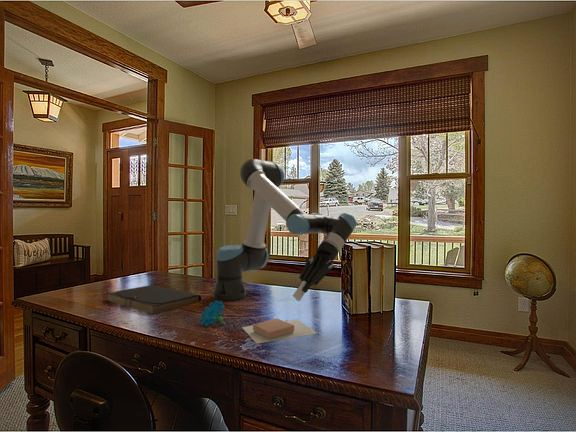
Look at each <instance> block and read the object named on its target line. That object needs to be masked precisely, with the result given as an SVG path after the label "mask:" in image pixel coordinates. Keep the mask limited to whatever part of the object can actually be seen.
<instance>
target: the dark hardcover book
mask: <svg viewBox="0 0 576 432" xmlns="http://www.w3.org/2000/svg"><path fill="white" fill-rule="evenodd" d="M106 294H107V297H106V298H107V300H106V301H108V302H111V303H114V304H118V305H121V306H124V307H129V308H130V309H135V310H139V311H142V312H146V313H148V314H152V315H155V314H159V313H162V312H167V311H170V310H173V309H176V308H180V307H183V306H187V305H191V304H193V303H194V304H195V303H197V302H200V301H202V296H201V295H199V294H196V293H190V292H187V291H182V290H177V289H174V288H169V287H163V286H159V285H154V284H149V285H145V286H139V287H134V288H133V287H132V288H127V289H120V290H116V291H113V292H107V293H106Z"/></svg>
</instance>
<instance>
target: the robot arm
mask: <svg viewBox="0 0 576 432" xmlns="http://www.w3.org/2000/svg"><path fill="white" fill-rule="evenodd" d="M239 177H240V179H241V181H242V183H244V185H245V186H246V188H248V189H249V190H253V191H254V195H253V200H252V201H253V202H252V206H251V212H250V218H249V223H248V228H247V234H246V238H245V240H243V241H242V244H241V245H240V244H232V245H231V244H229V245H225V246H221V247H219V248H218V250H217V253H216V282H215V285H214V288H213V290H212V298H213V299H215V300H217V301H238V300H242V299H245V298H246V296H247V292H246V291H247V290H246V288H245V284H244V281H243V272H244V273H245V272H249V271H250V272H251V271H258V270H259V269H263V268H264V267H265V266H267V265H268V264H267V263H268V262H269V253H268V252H269V250H268V249H267V248H266V247H267V244H266V243H265V237H266V231H267V226H268V223H269V217H270V211H271V209H273V210H274V211H275V212H276V213H277V214H278V215H279V216H280V217H281V218H282V219H283V220H284V221H285V222H286V227H287V230H288V232H289V233H291V234H292V235H299V236H300V235H301V236H302V235H311V234H324V235H325V237H324V238H323V239H322V241H321V243H320V244H319V246H318V247H317V249H316V253H315V254H314V255H313V256H312V257H311V258H310V257H306V258H305V261H306V262H305V264H304V266H303V267H302V270H301V273H300V275H299V280H300V283H299V285H297V289H296V290H295V292H294V293H293V295H292V297H293V298H294V299H295V300H296V301H298V302H300V301H301V300H302V298H303V297H304V295H305V294H306V293H307V292H308V291H309V290H310V288H311V287H313V286H317V285H318V284H319V283H320V282H321V281H322V280H323V279H324V278H325V277H326V275H328V273H329V272H330V271H331V270H334V268H335V264H334V263H333V262H334V261H335V259H336V258H337V256H338V255H339V253H340V251H341V250H342V248H343V247H344V245H345V244H346V242H347V240H348V239H349V238H350V237H351V234H352V233H353V232H354V230H355V228H356V226H357V220H356V218H355V217H354V216H353V215H352V214H351V213H349V212H343V213H341V214H340V215H339V216H338V217H336V216H330V215H326V214H323V213H321V212H320V213H318V212H311V213H310V214H307V213H306V212H304V211H303V210H302V209H301V208H300V207H299V206H298V205H297V204H296V203H295V202H294V201H293V200H292V199H290V198H289V196H287V195H286V194H285V193H284V192H283V191H282V190H281V189H279V188H278V187H280V186H282V184H283V183H284V181H285V172H284V169H283V167H282V166H281V165H280V164H279V163H277V162H274V161H271V160H262V159H258V158H250V159H247V160H246V161H245V162H243V164H242V165H241V167H240V171H239Z"/></svg>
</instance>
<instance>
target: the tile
mask: <svg viewBox="0 0 576 432" xmlns="http://www.w3.org/2000/svg"><path fill="white" fill-rule="evenodd" d="M285 321H286V320H282V319H280V318H274V319H269V320H265V321H262V322H258V323H254V324H252V326H253V331H254V332H255V333H257V334H259V335H261V336H263V337H265V338H267V339H269V340H271V339H274V338H278V337H281V336H284V335H288V334H291V333H293V331H294V325H292V324H290V323H287V322H285Z"/></svg>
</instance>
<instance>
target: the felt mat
mask: <svg viewBox="0 0 576 432" xmlns="http://www.w3.org/2000/svg"><path fill="white" fill-rule="evenodd" d="M284 321H285V322H287V323H290V324H292V325H294V331H293V333H291V334H288V335H284V336H281V337H278V338H274V339H271V340H269V339H267V338H265V337H263V336H261V335H259V334H257V333H255V332H254V331H253V325H248V326H242V327H241V328H242V329H243V330H244V331H245V332H246V334H248V336H249V337H250V338H251V339H252V340H253V341H254V342H255V343H256V344H263V343H269V342H275V341H280V340H286V339H287V340H288V339H292V338H298V337H299V338H300V337H303V336H309V335H316V334H318V332H317V331H315V330H314V329H312V328H311V327H309V326H308V325H306V324H305V323H303V322H302V321H301V320H299V319H289V320H284Z"/></svg>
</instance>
